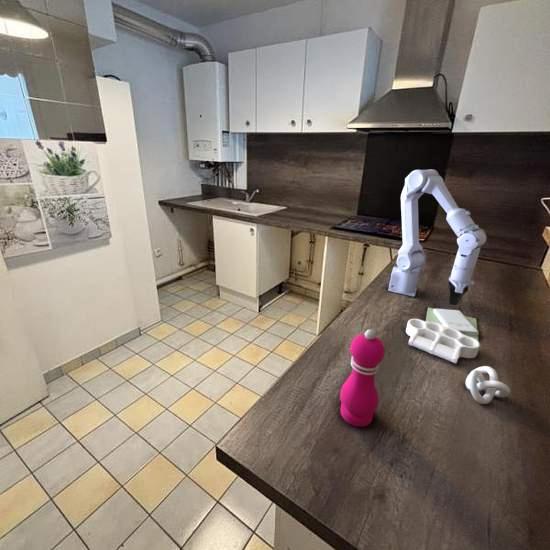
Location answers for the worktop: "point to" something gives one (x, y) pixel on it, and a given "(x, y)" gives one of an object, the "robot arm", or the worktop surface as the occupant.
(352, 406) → the pepper mill
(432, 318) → the mat
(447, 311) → the hard drive
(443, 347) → the white brass knuckles
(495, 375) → the knot
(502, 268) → the worktop surface
